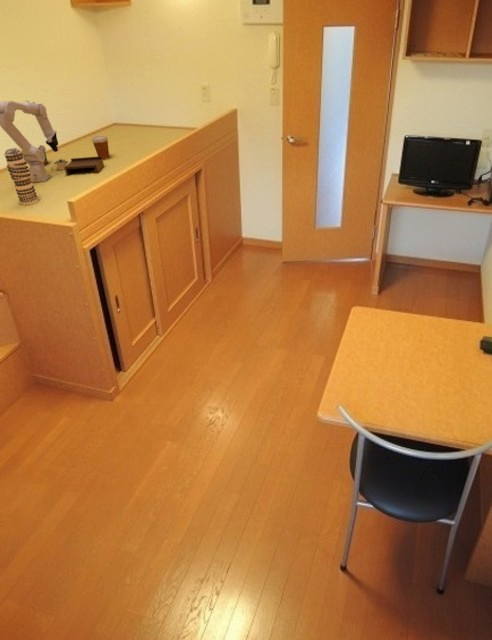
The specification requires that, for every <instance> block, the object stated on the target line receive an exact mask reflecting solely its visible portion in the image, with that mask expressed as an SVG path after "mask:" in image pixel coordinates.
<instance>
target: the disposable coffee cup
mask: <svg viewBox="0 0 492 640" xmlns="http://www.w3.org/2000/svg"><path fill="white" fill-rule="evenodd" d="M91 142H92V144H93V147H94V149H95V152H96V155H97V157H99V156H102V159H103V160H107V159H109V158H110V150H109V149H110V148H109V138H108V136H106V135H98V136H94V137H92V138H91Z"/></svg>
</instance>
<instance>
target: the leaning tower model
mask: <svg viewBox="0 0 492 640" xmlns="http://www.w3.org/2000/svg"><path fill="white" fill-rule="evenodd" d="M3 156H4V157H5V161H6V164H7V165H6V168H7V171H8V172H9V175H10V178H11V180H12V181H13V183H14V187H15V191H16V194H17V195H18V196H17V198H18V201H19V203H20V205H23V206H24V205H26V206H27V205H31V204H35V203H37V202H38V201H39V198H38V195H37V192H36V189H35V186H34V184H33V182H31V181H32V180H31V177H30V174H29V166H28V162H26V161H25V159H24V157H23V155H22V150H21V149H20V148H17V147H13V148H7V149H6V150H5V151H4V154H3Z"/></svg>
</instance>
